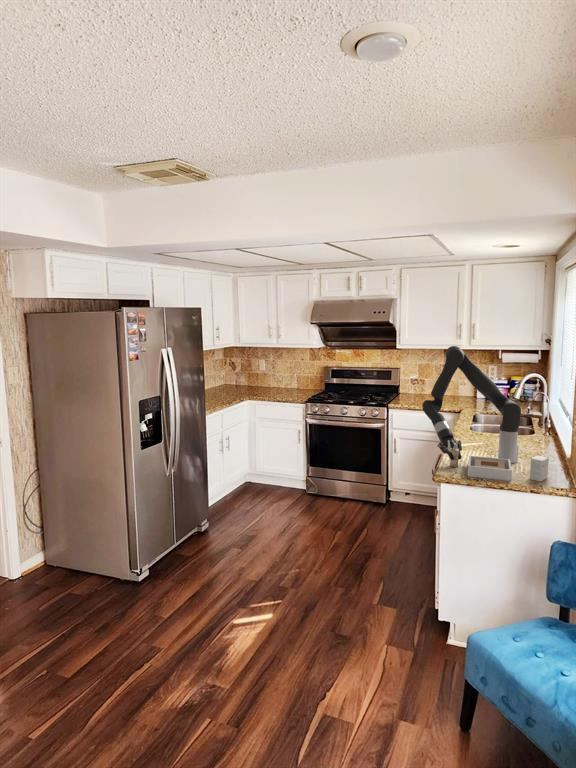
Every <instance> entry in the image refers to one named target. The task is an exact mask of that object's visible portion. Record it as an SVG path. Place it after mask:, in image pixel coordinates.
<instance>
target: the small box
mask: <svg viewBox="0 0 576 768" xmlns="http://www.w3.org/2000/svg"><path fill="white" fill-rule="evenodd" d="M529 469H530V470H529V480H531V481H532V480H533V481H536V482H540V481H541V482H542V481H545V480H546V479H547V478H548V470H549V457H547V456H541V455H535V456H533V457H531V458H530V468H529Z"/></svg>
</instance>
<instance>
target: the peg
mask: <svg viewBox="0 0 576 768" xmlns="http://www.w3.org/2000/svg"><path fill="white" fill-rule="evenodd" d="M450 449H451V452H452V454H453V456H454V460H451V459H450V458H449V459H450V460H449V467H451V468H454V469H455V468H458V467H459V459H458V452H459V450H458V449H452V448H450Z"/></svg>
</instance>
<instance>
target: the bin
mask: <svg viewBox="0 0 576 768" xmlns="http://www.w3.org/2000/svg"><path fill="white" fill-rule="evenodd" d="M512 472H513V468H512V463H511V462H510V459H501V458H498V457H488V456H480V455H479V456H478V455H476V456H475V455H469V456H468V465H467V476H466V477H467V478H475V477H478V478H477V479H485V480H496V481H504V482H512V476H513V475H512Z"/></svg>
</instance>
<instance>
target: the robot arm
mask: <svg viewBox="0 0 576 768" xmlns="http://www.w3.org/2000/svg"><path fill="white" fill-rule="evenodd" d="M458 369H459V371H461V372H462V373H463V375H464V377H465V378H466V379H467V380H468V382H469V383H470V384H471V386H473V388H474V389H476V391H478V392H479V393H480V394H481V395H482V396H483V397H484V398H486V399H487V400H488V401H490V403H492V405H494V407H495V408H496V409H497V411H498V412H499V413H500V414H501V415H502V419H501V421H502V422H501V424H499V435H498V438H499V439H498V453H497V458H501V459H510V462H511V464H515V463H517V461H518V459H519V449H520V448H519V447H520V446H519V444H518V438H519V437H518V436H519V428H520V425H521V417H522V408H521V406H520V405H519V404H518V403H516V402H515V401H513V400H511V399H510V398H508V397H507V396H506V395H505V394H504V393H502V391H501V390H500V389H499V388H498V386H497V384H496V382H494V381H493V379H492V378H491V377H490V376H489V375H488V374H487V373H485V371H483V369H481V368H480V367H479V366H477V364H475V363H474V362H473V361H472V360H471V359H470V358H469V357H468V356H467V355H466V353H465V352H464V351H463V349H461V348H460V346H457V345H451V346H449V347H448V348H447V349H446V351H445V362H444V365H443V368H442V371H441V372H440V374H439V376H438V378H436V381H435V382H434V384H433V388H432V389H431V393H430V395H431V397H433V400H432V399H426V400H424V401H423V403H422V411H423V412H424V414H425V415H426V416H427V417H428V419H429V420H430V421H431V424H432V426H433V429H434V431H435V433H436V435H437V437H438V439H439V441H440V442H439V443H438V444H437V447H438V448H439V449H440V450H441V452H442V454H447V455H448V458H449V459H451V460H454V456H453V454H452V452H451V449H458V450H459V452H458V460H461V459H462V458H463V456H462V454H461V451H462V450H463V446H462V441H461V440H456V439H455V438H454V437H455V436H454V434H453V432H452V429H451V428H450V425H449V423H448V422H447V420H446V418H445V416H444V415H443V414H442V413H441V412H440V411H441V410H442V407H443V401H444V396H445V394H446V392H447V389H448V387H449V386H450V383H451V380H452V378H453V377H454V375H455V373H456V372H457V370H458Z"/></svg>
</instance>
